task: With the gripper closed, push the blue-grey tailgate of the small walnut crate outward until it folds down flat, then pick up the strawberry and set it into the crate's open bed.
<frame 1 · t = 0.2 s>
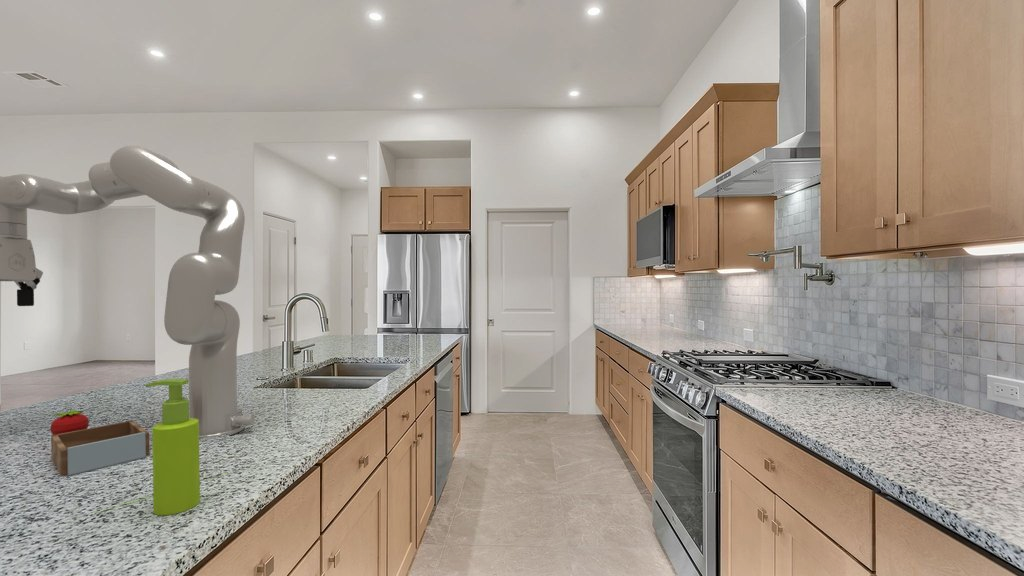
hand: (4, 306, 102), 31 cm above the counter, tool pointing down, fingers open, 9 cm apart
soap dispenser: (173, 507, 71), on the counter
tailgate: (108, 453, 85), point 3 cm above the counter, hinge at 0.0°
strawberry: (70, 451, 97), on the counter
crate: (100, 461, 90), on the counter
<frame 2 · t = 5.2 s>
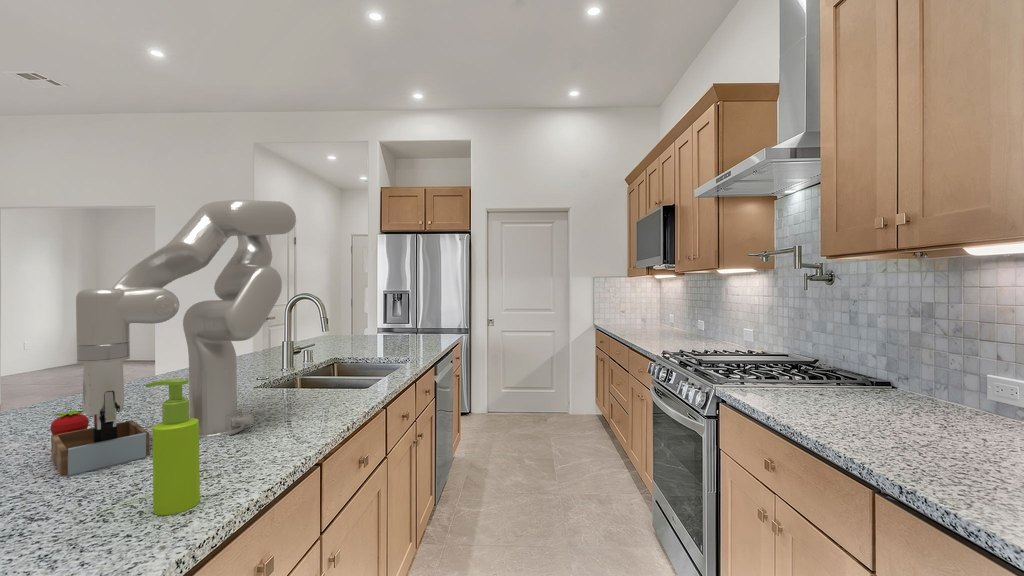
hand: (105, 448, 86), 4 cm above the counter, tool pointing down, fingers closed
tailgate: (108, 454, 85), point 3 cm above the counter, hinge at 7.4°, touching gripper
everything else where it was.
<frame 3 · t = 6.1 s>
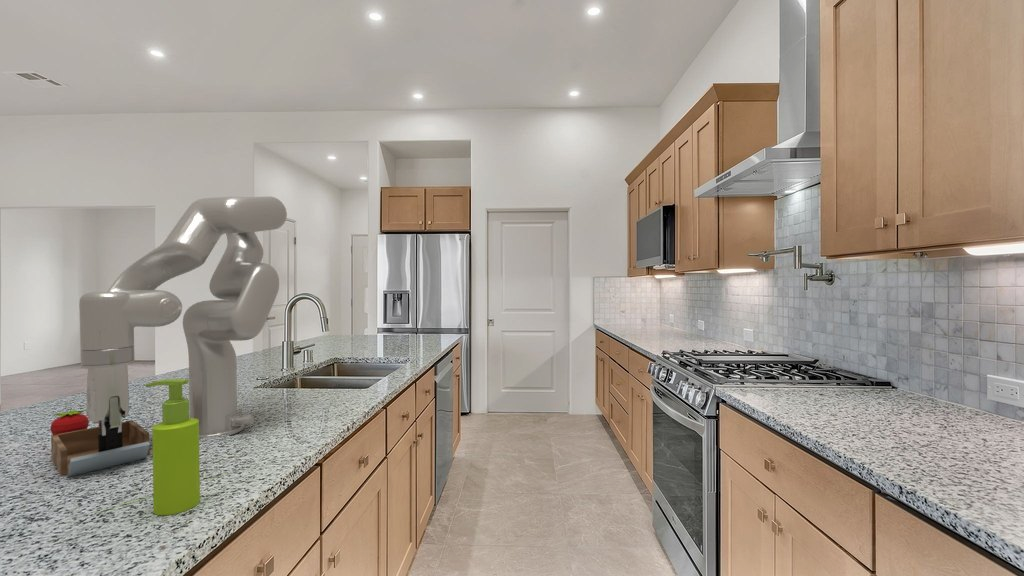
hand: (110, 454, 84), 3 cm above the counter, tool pointing down, fingers closed
tailgate: (110, 459, 84), point 3 cm above the counter, hinge at 43.7°, touching gripper
everything else where it was.
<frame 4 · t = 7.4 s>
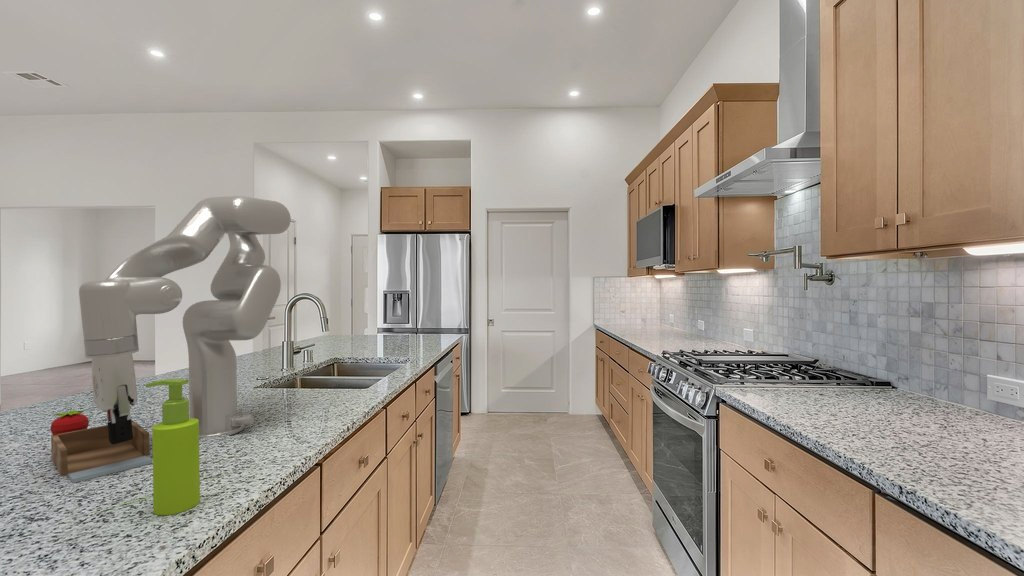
hand: (121, 440, 85), 6 cm above the counter, tool pointing down, fingers closed
tailgate: (111, 468, 84), point 1 cm above the counter, hinge at 85.8°
everything else where it was.
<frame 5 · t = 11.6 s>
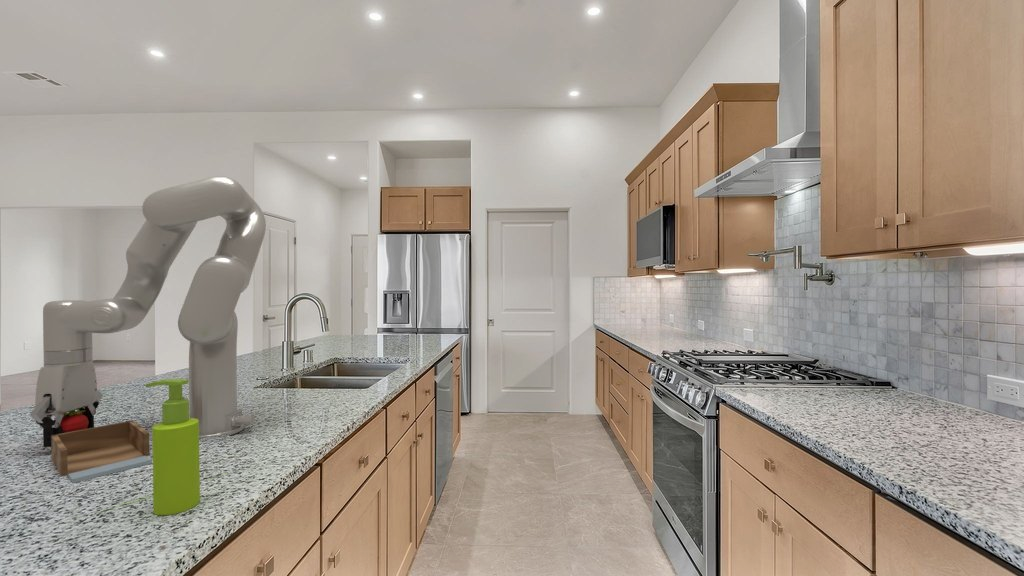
hand: (69, 439, 96), 2 cm above the counter, tool pointing down, fingers closed on strawberry, 7 cm apart
strawberry: (70, 451, 97), on the counter, touching gripper
everything else where it was.
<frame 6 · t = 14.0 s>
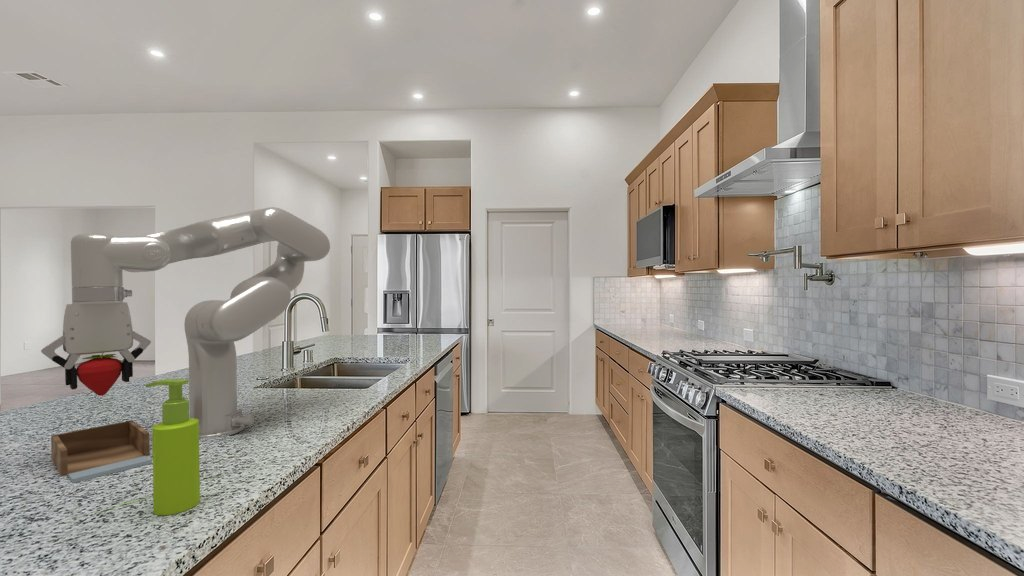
hand: (100, 384, 90), 16 cm above the counter, tool pointing down, fingers closed on strawberry, 7 cm apart
strawberry: (100, 396, 90), point 13 cm above the counter, touching gripper
everything else where it was.
when the fingers open (6 cm above the counter, at t = 16.4 s): strawberry drops 2 cm, resting on crate.
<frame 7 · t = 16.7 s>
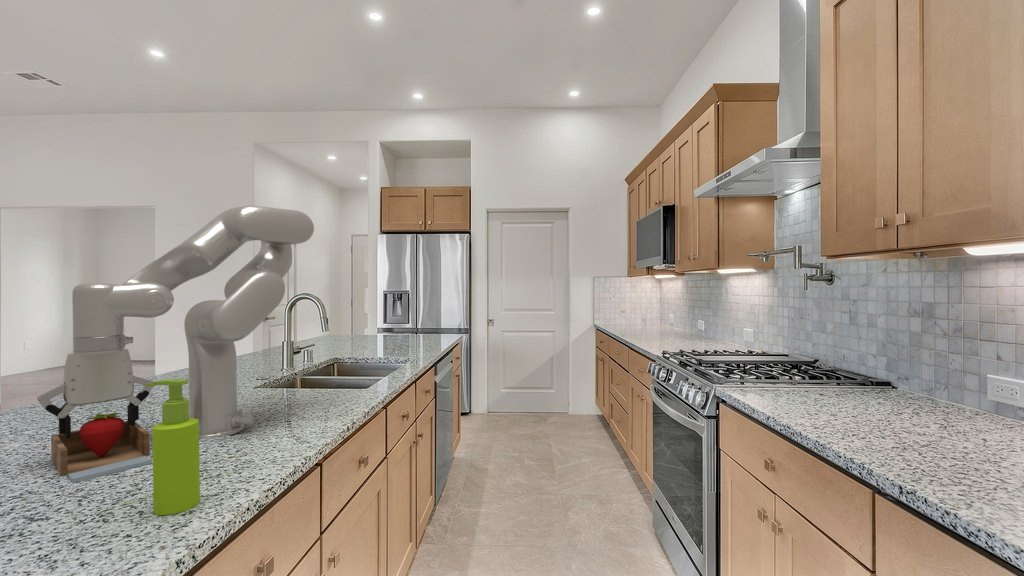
hand: (100, 430, 90), 6 cm above the counter, tool pointing down, fingers open, 9 cm apart
strawberry: (100, 457, 90), point 1 cm above the counter, touching crate
everything else where it was.
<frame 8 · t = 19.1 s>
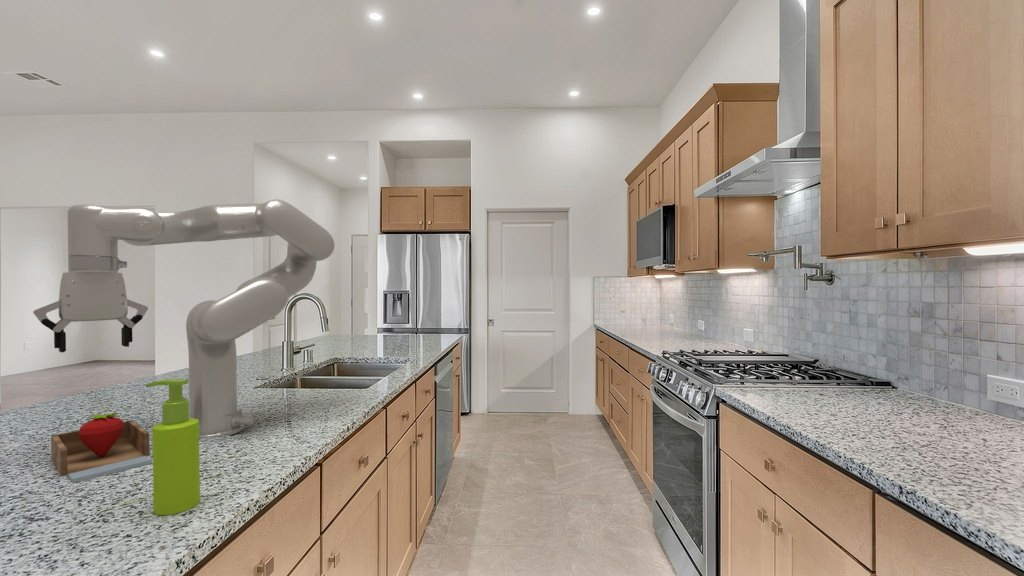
hand: (95, 348, 92), 22 cm above the counter, tool pointing down, fingers open, 9 cm apart
nothing on the counter moved.
at the end: tailgate at +86° (first picture: +0°); strawberry 0.3 cm from the crate (horizontally); strawberry point 0.9 cm above the counter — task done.
